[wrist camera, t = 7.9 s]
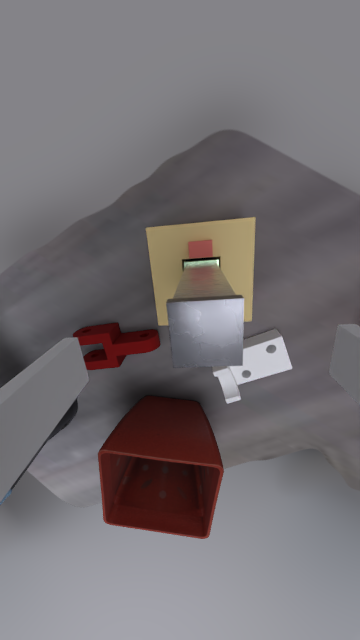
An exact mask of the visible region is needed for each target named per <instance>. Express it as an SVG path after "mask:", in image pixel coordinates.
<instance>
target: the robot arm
mask: <svg viewBox="0 0 360 640" xmlns="http://www.w3.org/2000/svg"><path fill="white" fill-rule="evenodd" d="M329 374H330V375H331V376H332V377H333V378H334V379H335V380H336V381H337V382H338V383H339V384H340V385H341V387H342V388H343V389H344V390H345V391H346V392H347V393H348V394H349V395H350V396H351V397H352V398H353V399H354V400H355V401H356V402H357V403H358V404H359V405H360V326H358V325H356V324H342V325H338V327H337V333H336V338H335V343H334V349H333V354H332V359H331V365H330V370H329ZM88 382H89V376H88V373H87V369H86V366H85V362H84V359H83V355H82V351H81V348H80V344H79V341H78V337H75V338H63V339H62V340H61V341H60V342H58V343H57V344H56V345H55V346H53V347H52V348H51V349H49V350H48V351H47V352H46V353H44V354H43V355H42V356H41V357H39V358H38V359H37V360H36V361H34V362H33V363H32V364H30V365H29V366H28V367H27V368H25V369H24V370H23V371H22V372H20V373H19V374H18V375H16V376H15V377H14V378H13V379H11V380H10V381H9V382H8V383H6V384H5V385H4V386H3V387H1V388H0V505H1V504H2V503H3V501H4V500H5V499H6V498H7V497H8V496H9V495H10V494H11V492H12V489H13V488H14V487H15V485H16V484H17V483H18V481H19V480H20V478H21V477H22V475H23V474H24V473H25V471H26V470H27V469H28V467H29V466H30V464H31V463H32V462H33V460H34V459H35V457H36V456H37V455H38V453H39V452H40V450H41V449H42V448H43V446H44V445H45V443H46V442H47V441H48V440H50V439H51V438H52V437H53V436H55V435H56V434H57V433H58V432H59V431H60V430H62V429H64V428H65V427H66V426H67V425H68V424H69V423H70V422H71V420H72V419H73V418H74V416H75V414H76V412H77V400H76V398H77V397H78V395H79V394H80V393H81V391H82V390H83V388H84V387H85V386H86V384H87V383H88Z"/></svg>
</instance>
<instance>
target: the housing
mask: <svg viewBox="0 0 360 640" xmlns="http://www.w3.org/2000/svg"><path fill="white" fill-rule="evenodd" d="M146 233H147V241H148V248H149V256H150V264H151V271H152V279H153V287H154V294H155V302H156V310H157V317H158V325H159V326H161V325H168V316H167V307H166V302H167V300H168V299H173V297H174V294H175V292H176V289H177V287H178V284H179V281H180V279H181V276H182V274H183V271H184V262H185V261H186V259H194V258H207V257H216V259H219V267H220V269H221V271H222V272H223V274H224V276H225V277H226V279H227V281H228V282H229V284H230V286H231V287H232V289H233V290H234V292H235V294H236V295H242V296H243V297H244V321H252V299H253V271H254V244H255V217H251V218H241V219H231V220H220V221H210V222H200V223H189V224H179V225H168V226H158V227H148V228H146Z"/></svg>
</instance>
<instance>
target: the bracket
mask: <svg viewBox="0 0 360 640" xmlns="http://www.w3.org/2000/svg"><path fill="white" fill-rule="evenodd" d="M289 369H292V366H291V363H290V360H289V357H288V354H287V350H286V347H285V344H284V341H283V338H282V336H281V334H280V333H279V332H278V331H277V329H273V330H270V331H267V332H264V333H262V334H259V335H256V336H253V337H250V338H247V339H244V340H243V366H216V367H212V370H213V374H214V376H215V377H216V376H217V377H218V378H219V381H220V383H221V386H222V389H223V392H224V396H225V400H226V402H227V403H231V402H235V401H238V400H241V397H240V393H239V389H238V385H239V384H242V383H246V382H249V381H252V380H256V379H259V378H262V377H266V376H269V375H273V374H276V373H279V372H283V371H286V370H289Z"/></svg>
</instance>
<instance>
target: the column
mask: <svg viewBox="0 0 360 640" xmlns="http://www.w3.org/2000/svg"><path fill="white" fill-rule="evenodd" d="M166 307H167V316H168V325H169V333H170V342H171V351H172V360H173V368H180V367H216V366H243V327H244V297H243V296H242V295H236V294H235V292H234V290H233V289H232V287H231V286H230V284H229V282H228V281H227V279H226V277H225V276H224V274H223V272H222V271H221V269H220V267H219V259H210V260H197V261H185V262H184V271H183V274H182V276H181V279H180V281H179V284H178V287H177V289H176V292H175V294H174V297H173V299H168V300H167V302H166Z"/></svg>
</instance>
